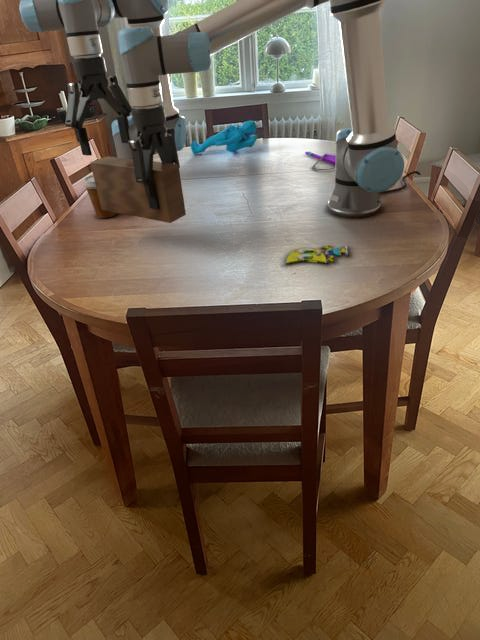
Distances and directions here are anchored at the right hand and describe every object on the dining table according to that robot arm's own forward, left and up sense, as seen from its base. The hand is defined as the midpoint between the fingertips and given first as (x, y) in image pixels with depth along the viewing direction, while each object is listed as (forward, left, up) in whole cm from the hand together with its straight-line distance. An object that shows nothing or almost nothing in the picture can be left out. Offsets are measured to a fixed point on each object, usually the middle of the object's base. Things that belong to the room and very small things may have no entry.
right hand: (163, 203), depth 122 cm
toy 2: (-31, +23, -12) cm, 41 cm away
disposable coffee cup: (+13, -37, -12) cm, 41 cm away
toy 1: (-45, -89, -12) cm, 100 cm away
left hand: (+10, -16, +12) cm, 22 cm away
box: (+5, -7, -3) cm, 9 cm away
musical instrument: (-71, -48, -12) cm, 87 cm away
